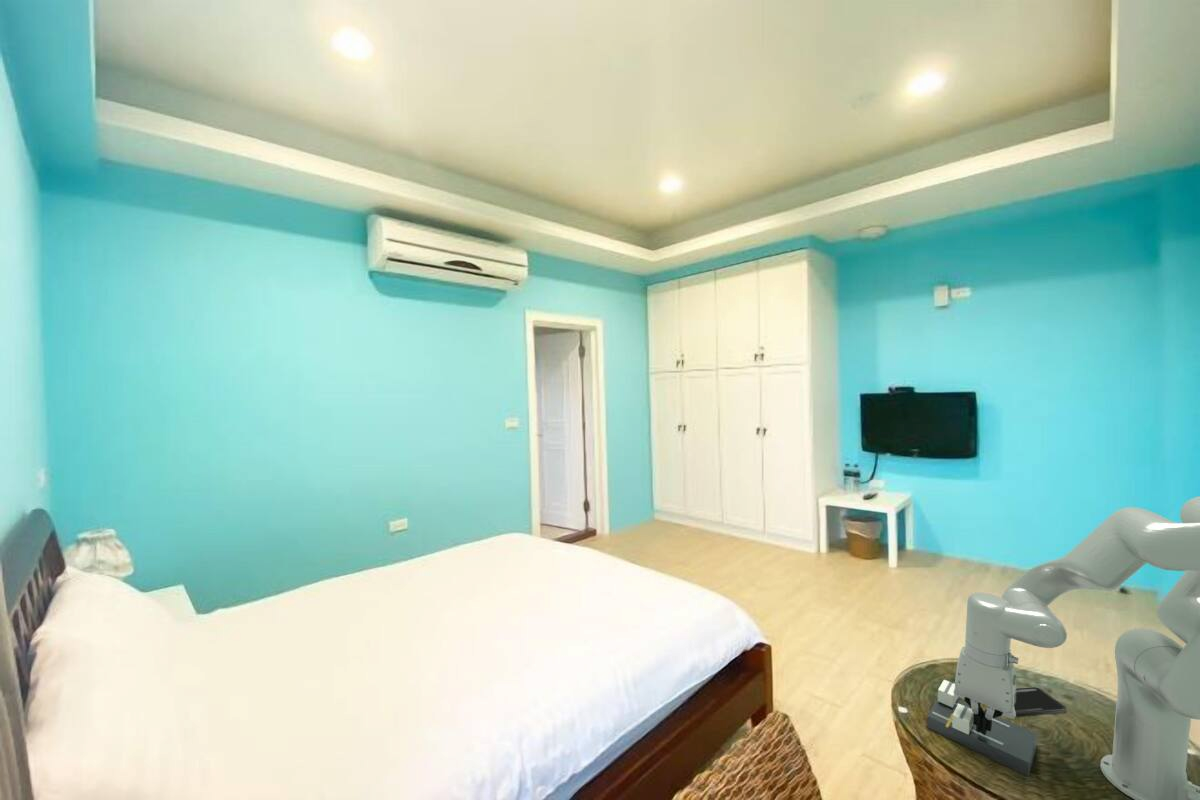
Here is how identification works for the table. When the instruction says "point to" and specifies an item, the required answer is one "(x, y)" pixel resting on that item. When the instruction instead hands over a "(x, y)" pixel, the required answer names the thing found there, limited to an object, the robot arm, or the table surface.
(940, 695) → the block
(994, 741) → the console
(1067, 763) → the table surface
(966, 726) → the fader near
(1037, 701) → the phone
